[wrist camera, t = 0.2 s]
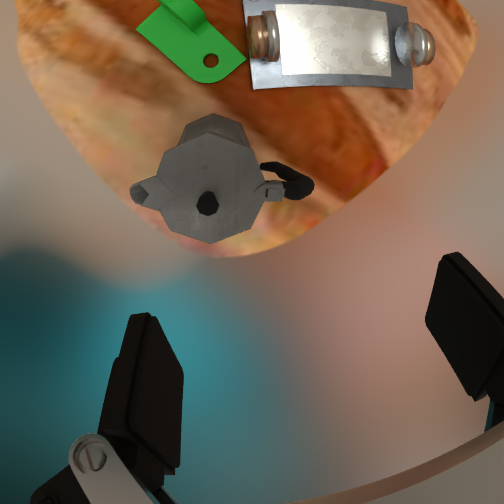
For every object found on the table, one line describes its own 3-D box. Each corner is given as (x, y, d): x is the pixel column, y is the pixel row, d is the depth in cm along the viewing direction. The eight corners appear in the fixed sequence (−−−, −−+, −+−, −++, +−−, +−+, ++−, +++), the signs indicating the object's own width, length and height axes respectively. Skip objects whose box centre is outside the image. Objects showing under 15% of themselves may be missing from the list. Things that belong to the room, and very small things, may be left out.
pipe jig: (252, 89, 33) (259, 91, 27) (241, -2, 27) (246, -20, 20) (407, 88, 33) (439, 94, 27) (400, 8, 27) (432, 1, 21)
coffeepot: (163, 187, 38) (127, 265, 23) (158, 115, 34) (108, 147, 18) (282, 184, 40) (321, 260, 25) (286, 113, 35) (337, 143, 20)
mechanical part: (139, 31, 28) (119, 20, 21) (176, -3, 26) (165, -22, 19) (207, 92, 33) (204, 95, 26) (245, 60, 31) (252, 54, 24)
